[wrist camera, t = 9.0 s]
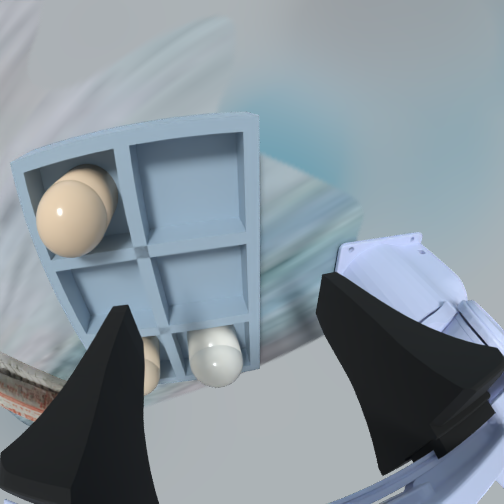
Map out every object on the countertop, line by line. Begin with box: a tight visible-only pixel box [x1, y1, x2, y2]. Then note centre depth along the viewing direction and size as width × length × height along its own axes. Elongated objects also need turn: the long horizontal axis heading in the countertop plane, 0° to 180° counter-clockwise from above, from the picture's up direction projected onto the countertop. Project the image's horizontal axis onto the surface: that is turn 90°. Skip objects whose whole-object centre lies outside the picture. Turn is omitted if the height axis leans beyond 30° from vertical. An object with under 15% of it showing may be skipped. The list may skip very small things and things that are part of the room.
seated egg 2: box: [187, 324, 243, 388], centre depth 20 cm, size 4×4×5 cm
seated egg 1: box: [142, 335, 160, 396], centre depth 19 cm, size 4×4×5 cm
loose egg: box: [36, 164, 118, 258], centre depth 12 cm, size 4×4×5 cm
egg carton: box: [10, 112, 260, 384], centre depth 18 cm, size 14×20×3 cm
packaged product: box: [0, 352, 67, 422], centre depth 21 cm, size 18×5×10 cm
